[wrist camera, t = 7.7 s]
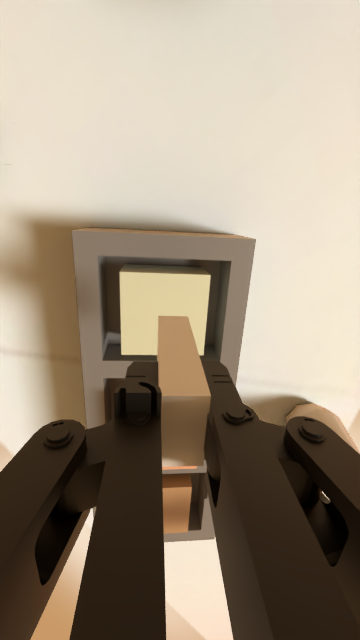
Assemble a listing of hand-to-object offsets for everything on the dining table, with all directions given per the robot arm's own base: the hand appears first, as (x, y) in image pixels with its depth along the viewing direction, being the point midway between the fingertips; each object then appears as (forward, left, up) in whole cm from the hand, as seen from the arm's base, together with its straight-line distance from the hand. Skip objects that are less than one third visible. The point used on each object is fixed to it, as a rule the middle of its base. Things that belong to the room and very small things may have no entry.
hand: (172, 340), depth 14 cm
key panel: (+10, 0, -11) cm, 15 cm away
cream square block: (+1, 0, -8) cm, 8 cm away
